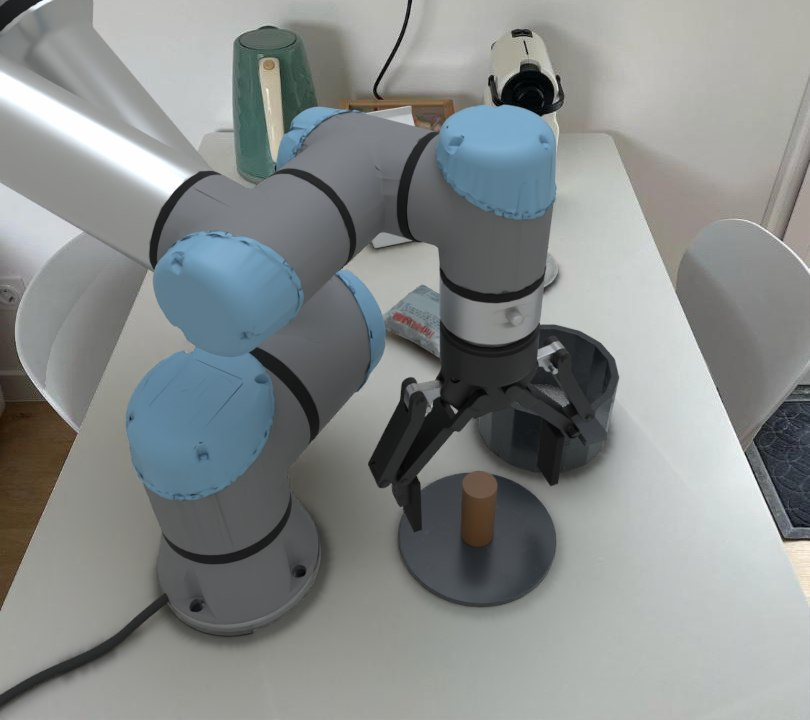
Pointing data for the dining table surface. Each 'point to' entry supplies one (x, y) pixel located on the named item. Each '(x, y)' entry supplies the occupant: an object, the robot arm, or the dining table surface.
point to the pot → (590, 365)
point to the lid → (479, 540)
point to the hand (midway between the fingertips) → (481, 497)
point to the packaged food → (417, 319)
